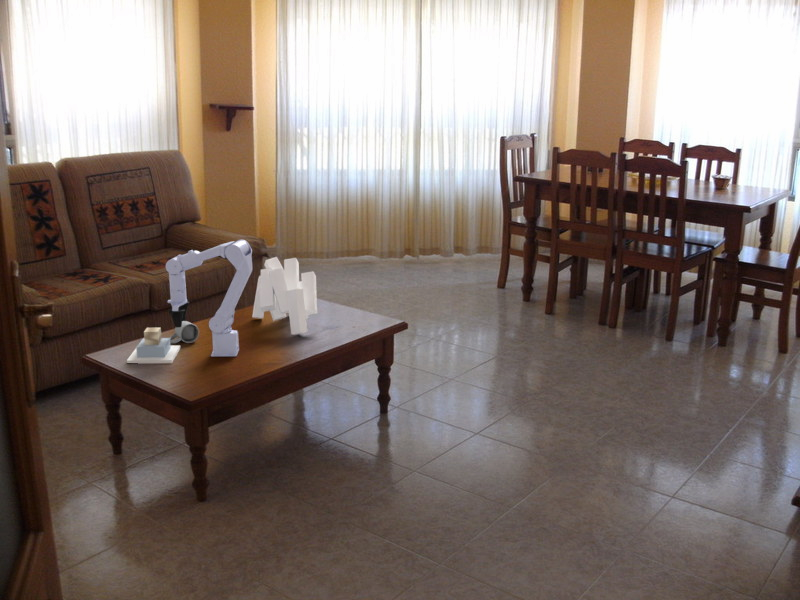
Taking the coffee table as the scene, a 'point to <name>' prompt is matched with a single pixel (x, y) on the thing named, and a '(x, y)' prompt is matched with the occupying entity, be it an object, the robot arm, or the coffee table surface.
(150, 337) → the birch cube
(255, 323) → the coffee table surface
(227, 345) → the robot arm
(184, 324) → the ceramic mug
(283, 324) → the coffee table surface
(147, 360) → the plinth base
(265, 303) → the pile of blocks
